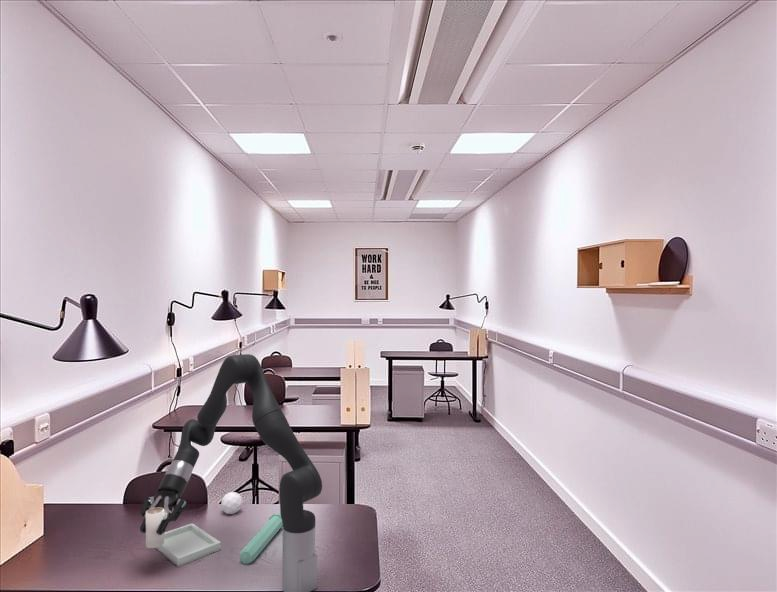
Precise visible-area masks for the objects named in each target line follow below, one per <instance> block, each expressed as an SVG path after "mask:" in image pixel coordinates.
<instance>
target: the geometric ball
mask: <svg viewBox="0 0 777 592" xmlns="http://www.w3.org/2000/svg"><path fill="white" fill-rule="evenodd" d="M220 504H221V505H220V506H221V509H222V511H223V512H224V513H225V514H226V515H233V514H235V513H237V512H239V511H240V509H241V508H242V506H243V498H242V496H241V494H239V492H236V491H235V492H234V491H229V492H228V493H225V495H224V496H223V497H222V498H221V503H220Z"/></svg>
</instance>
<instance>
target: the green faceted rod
mask: <svg viewBox="0 0 777 592" xmlns="http://www.w3.org/2000/svg"><path fill="white" fill-rule="evenodd" d="M280 528H281V529H283V522H282V518H281V514H280V513H273V514H272V515H271V516H270V517H269V518H268V521H267V522H266V523H265V524H264V525H263V526H262V527H261V529H260V530H259V531H258V532H257V533H256V534H255V536H253V538H251V540H249V542H248V543H247V544H246V545H245V546H244V548H242V550H241V551H240V552H239V560H240V561H241V562H242V564H243V565H245V564H246V565H249V563H250V564H251V563H252V562H253V561H254V560H255V559H256V558H257V557H258V556H259V554H260V553H262V551H263V550H264V549H265V547H266V546H267V545H268V543H270V541H271V540H272V539H273V537H274V536H276V534H277V533H278V531H279V529H280ZM281 529H280V530H281Z"/></svg>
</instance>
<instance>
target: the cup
mask: <svg viewBox="0 0 777 592" xmlns="http://www.w3.org/2000/svg"><path fill="white" fill-rule="evenodd" d="M163 517H164V508H162V507H156V508H151V509H149V510H147V511H146V533H145V548H147V549H156V548H157V547H160V546H161V545H163V544H164V533H165V532H164V533H162V535H158V534H157V533H156V531H157V529H158V527H159V525H160V523H161V521H162V520H163Z"/></svg>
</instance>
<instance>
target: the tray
mask: <svg viewBox="0 0 777 592" xmlns="http://www.w3.org/2000/svg"><path fill="white" fill-rule="evenodd" d="M221 544H222V542H221V541H220V540H218V539H217V538H215V537H214V536H212V535H211V534H210V533H208V532H206V531H205V530H204V529H201V528H200V527H199V526H197V525H195V524H194V523H193V522H192V523H189V524H185V525H183V526H180V527H178V528H174V529H171V530H168V531H165V532H164V544H163V545H161V546H160V547H157V548H155V549H156V550H158V551H159V553H161V554H162V555H163V556H165V557H166V558H167V559H168V560H169V561H170V562H171V563H173V564H174V565H175V566H176V567H178V568H179V567H181V566H184V565H187V564H189V563H191V562H193V561H194V562H195V561H197V560H199V559H202V558H205V557H206V556H209V555H212V554H214V553H213V552H215V553H217V552H219V550H220V551H221V550H222V547H221V546H222V545H221ZM216 551H217V552H216ZM211 553H212V554H211ZM201 557H202V558H201Z"/></svg>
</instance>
